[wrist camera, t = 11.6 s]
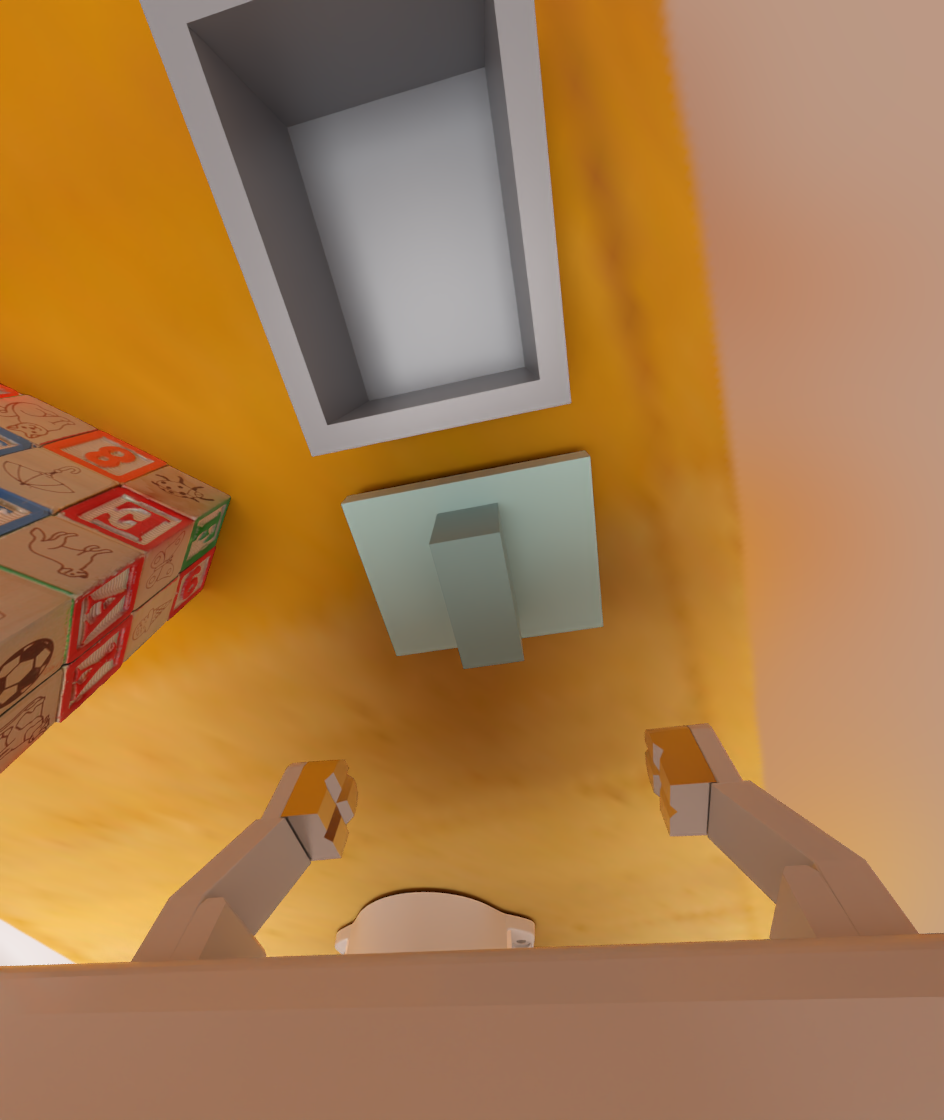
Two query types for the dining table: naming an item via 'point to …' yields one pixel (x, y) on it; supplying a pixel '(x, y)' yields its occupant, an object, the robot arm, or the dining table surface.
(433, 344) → the storage box
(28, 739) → the stack of blocks
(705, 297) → the dining table surface
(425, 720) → the dining table surface
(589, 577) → the lid
